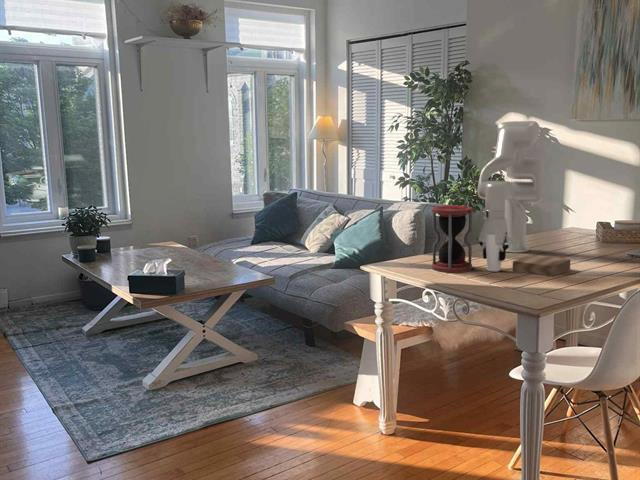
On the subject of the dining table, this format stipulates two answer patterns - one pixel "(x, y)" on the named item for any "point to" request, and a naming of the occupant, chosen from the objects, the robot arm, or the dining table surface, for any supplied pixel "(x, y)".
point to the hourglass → (452, 238)
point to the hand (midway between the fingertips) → (494, 259)
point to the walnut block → (541, 265)
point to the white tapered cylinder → (492, 254)
